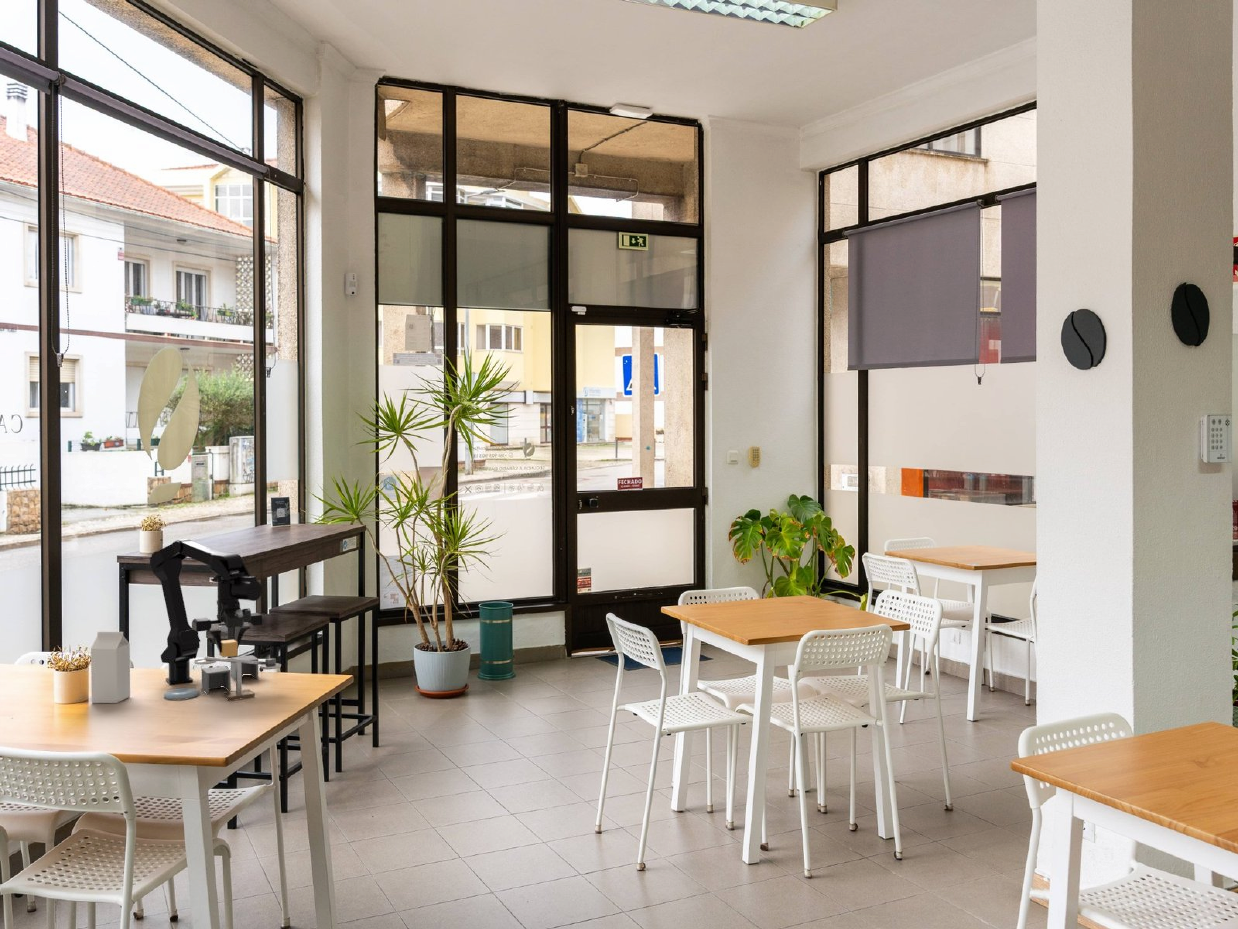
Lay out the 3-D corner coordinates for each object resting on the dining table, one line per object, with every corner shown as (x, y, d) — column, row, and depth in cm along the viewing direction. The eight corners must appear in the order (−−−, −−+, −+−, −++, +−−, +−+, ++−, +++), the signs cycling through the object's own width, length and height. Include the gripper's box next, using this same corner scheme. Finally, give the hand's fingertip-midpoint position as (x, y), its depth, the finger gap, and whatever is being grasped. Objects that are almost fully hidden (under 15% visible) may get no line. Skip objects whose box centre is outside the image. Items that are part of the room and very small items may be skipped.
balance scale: (192, 700, 276) (192, 656, 276) (277, 688, 290) (277, 646, 289) (197, 705, 272) (197, 660, 271) (283, 692, 285) (283, 649, 285)
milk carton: (117, 703, 273) (116, 634, 272) (91, 703, 273) (90, 634, 273) (130, 697, 280) (129, 629, 279) (105, 696, 280) (104, 629, 280)
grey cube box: (201, 689, 288) (201, 668, 288) (225, 686, 292) (224, 665, 292) (207, 694, 283) (206, 673, 283) (230, 690, 287) (230, 670, 287)
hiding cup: (230, 677, 303) (230, 657, 302) (252, 674, 306) (252, 655, 306) (236, 681, 297) (236, 661, 297) (258, 678, 301) (258, 659, 301)
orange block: (219, 654, 290) (219, 641, 289) (233, 653, 292) (233, 639, 292) (223, 657, 286) (223, 643, 286) (237, 655, 289) (237, 641, 289)
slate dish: (161, 694, 283) (161, 691, 282) (194, 690, 288) (194, 686, 288) (167, 701, 275) (167, 698, 275) (202, 696, 280) (202, 693, 280)
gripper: (201, 605, 277) (201, 661, 277) (269, 599, 288) (269, 653, 288) (191, 599, 285) (191, 653, 286) (257, 593, 297) (257, 645, 297)
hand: (228, 651), depth 289 cm, fingers closed on orange block, 4 cm apart
